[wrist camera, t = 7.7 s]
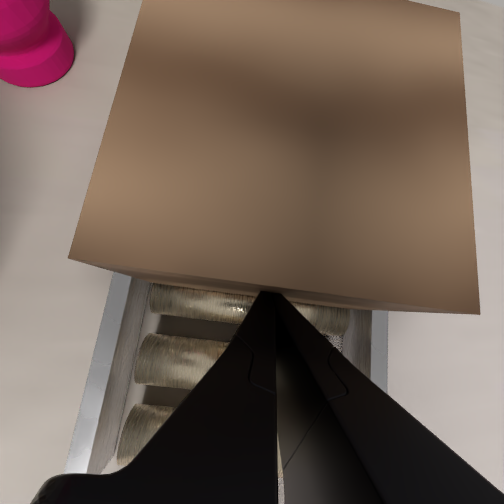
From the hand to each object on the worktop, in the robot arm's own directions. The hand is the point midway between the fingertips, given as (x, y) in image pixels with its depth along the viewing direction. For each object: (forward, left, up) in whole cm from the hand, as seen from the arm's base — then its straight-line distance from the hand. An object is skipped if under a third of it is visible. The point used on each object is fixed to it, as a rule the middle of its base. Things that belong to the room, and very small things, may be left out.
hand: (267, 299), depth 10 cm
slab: (+5, +3, -5) cm, 8 cm away
